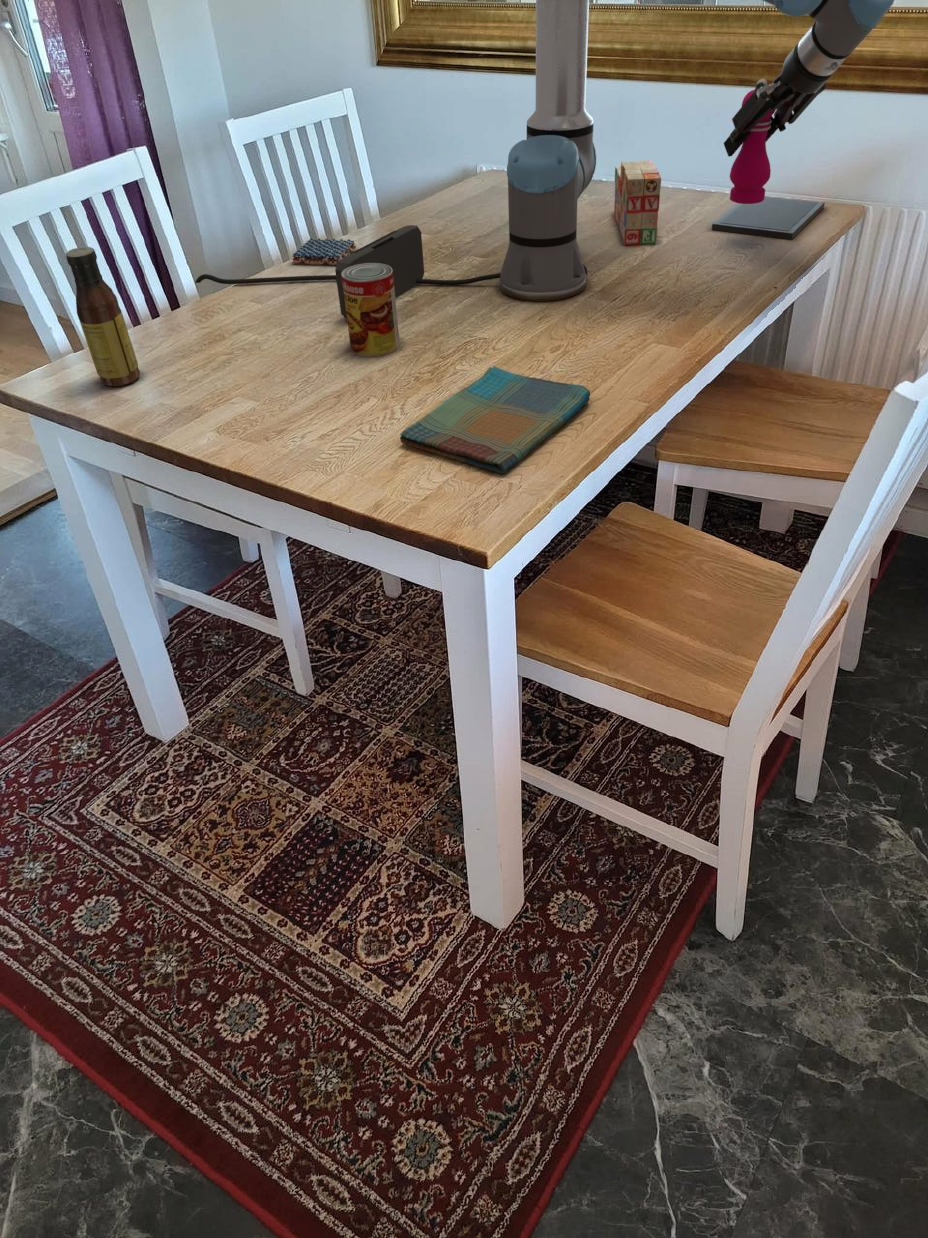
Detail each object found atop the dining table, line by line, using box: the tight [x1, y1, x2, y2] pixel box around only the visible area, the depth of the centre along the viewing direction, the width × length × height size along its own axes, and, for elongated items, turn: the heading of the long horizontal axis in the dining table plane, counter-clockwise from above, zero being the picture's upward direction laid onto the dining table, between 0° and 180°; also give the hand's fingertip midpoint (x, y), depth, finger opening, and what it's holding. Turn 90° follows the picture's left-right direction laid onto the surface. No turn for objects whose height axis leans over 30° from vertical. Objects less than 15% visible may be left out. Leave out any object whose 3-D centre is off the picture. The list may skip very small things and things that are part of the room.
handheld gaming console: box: [334, 224, 425, 320], centre depth 169 cm, size 23×3×10 cm, turn 149°
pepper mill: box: [729, 78, 777, 204], centre depth 175 cm, size 7×7×20 cm
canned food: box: [341, 263, 401, 357], centre depth 152 cm, size 8×8×12 cm
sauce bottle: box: [65, 246, 141, 387], centre depth 144 cm, size 7×6×20 cm
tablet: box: [711, 195, 826, 241], centre depth 196 cm, size 22×16×1 cm
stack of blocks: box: [613, 159, 662, 246], centre depth 193 cm, size 21×6×12 cm, turn 179°
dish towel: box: [399, 365, 591, 474], centre depth 132 cm, size 17×23×2 cm
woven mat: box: [291, 238, 357, 267], centre depth 191 cm, size 10×11×2 cm
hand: (740, 147), depth 179 cm, fingers closed on pepper mill, 5 cm apart
